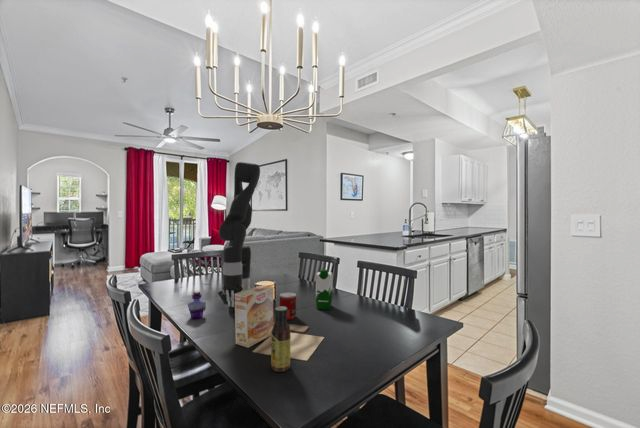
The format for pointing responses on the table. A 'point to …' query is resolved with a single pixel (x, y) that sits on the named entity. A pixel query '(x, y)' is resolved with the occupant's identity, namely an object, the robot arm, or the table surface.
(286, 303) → the canned food
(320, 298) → the milk carton
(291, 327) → the walnut turner
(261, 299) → the coffeecake box
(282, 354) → the sauce bottle
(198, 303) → the potion bottle
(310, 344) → the cork mat
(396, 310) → the table surface
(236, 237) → the robot arm
